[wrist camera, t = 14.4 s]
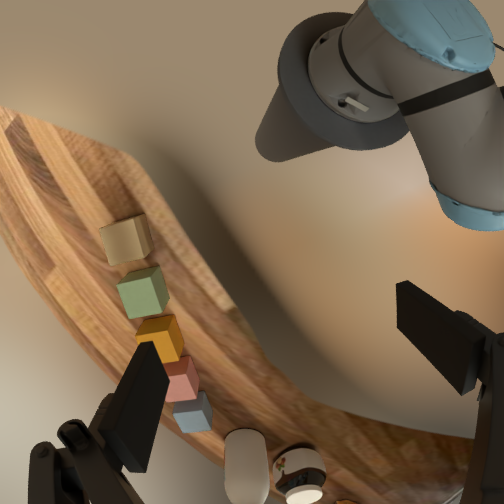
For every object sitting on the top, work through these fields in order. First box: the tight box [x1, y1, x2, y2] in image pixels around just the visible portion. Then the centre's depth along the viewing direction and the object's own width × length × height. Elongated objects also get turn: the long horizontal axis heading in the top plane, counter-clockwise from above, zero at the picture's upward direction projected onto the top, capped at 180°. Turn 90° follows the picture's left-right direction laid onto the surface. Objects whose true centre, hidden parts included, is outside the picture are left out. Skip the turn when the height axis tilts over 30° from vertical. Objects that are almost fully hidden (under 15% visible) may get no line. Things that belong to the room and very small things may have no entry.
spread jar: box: [273, 447, 326, 504], centre depth 47 cm, size 12×11×12 cm
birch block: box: [99, 214, 154, 266], centre depth 37 cm, size 5×5×5 cm
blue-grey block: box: [172, 391, 213, 433], centre depth 45 cm, size 5×5×5 cm
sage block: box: [117, 266, 170, 319], centre depth 39 cm, size 5×5×5 cm
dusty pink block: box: [162, 356, 200, 402], centre depth 43 cm, size 5×5×5 cm
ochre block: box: [135, 315, 184, 363], centre depth 41 cm, size 5×5×5 cm
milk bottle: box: [224, 429, 270, 504], centre depth 40 cm, size 8×8×20 cm
